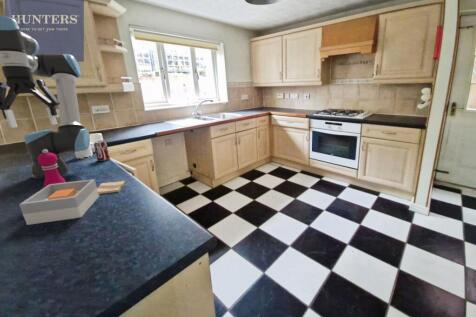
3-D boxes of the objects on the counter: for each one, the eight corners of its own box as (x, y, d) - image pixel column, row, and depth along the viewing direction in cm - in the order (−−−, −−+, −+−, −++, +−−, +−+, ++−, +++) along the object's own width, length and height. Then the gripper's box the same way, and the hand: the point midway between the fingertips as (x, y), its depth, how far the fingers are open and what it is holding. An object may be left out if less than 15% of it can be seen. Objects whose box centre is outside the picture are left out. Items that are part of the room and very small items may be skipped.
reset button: (60, 201, 83) (57, 190, 81) (78, 199, 84) (75, 188, 82) (51, 209, 77) (47, 197, 76) (70, 206, 78) (66, 195, 77)
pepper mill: (64, 190, 97) (51, 146, 91) (72, 193, 94) (59, 148, 88) (44, 197, 91) (29, 150, 85) (51, 200, 88) (36, 152, 82)
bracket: (89, 158, 146) (84, 140, 142) (74, 159, 145) (68, 141, 141) (108, 148, 169) (104, 132, 166) (94, 149, 169) (90, 133, 165)
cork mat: (102, 185, 101) (101, 183, 100) (125, 182, 102) (125, 180, 102) (93, 194, 91) (92, 192, 91) (119, 191, 93) (118, 189, 93)
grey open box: (55, 201, 87) (49, 184, 85) (99, 196, 90) (94, 179, 88) (27, 224, 72) (19, 204, 70) (81, 217, 75) (75, 197, 73)
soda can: (96, 160, 139) (91, 141, 136) (108, 157, 144) (104, 139, 140) (99, 162, 135) (94, 143, 131) (111, 159, 139) (107, 141, 136)
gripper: (-36, 66, 73) (-13, 130, 79) (48, 63, 77) (65, 124, 83) (-16, 69, 80) (4, 127, 86) (61, 66, 84) (75, 122, 90)
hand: (34, 126), depth 84 cm, fingers open, 13 cm apart
